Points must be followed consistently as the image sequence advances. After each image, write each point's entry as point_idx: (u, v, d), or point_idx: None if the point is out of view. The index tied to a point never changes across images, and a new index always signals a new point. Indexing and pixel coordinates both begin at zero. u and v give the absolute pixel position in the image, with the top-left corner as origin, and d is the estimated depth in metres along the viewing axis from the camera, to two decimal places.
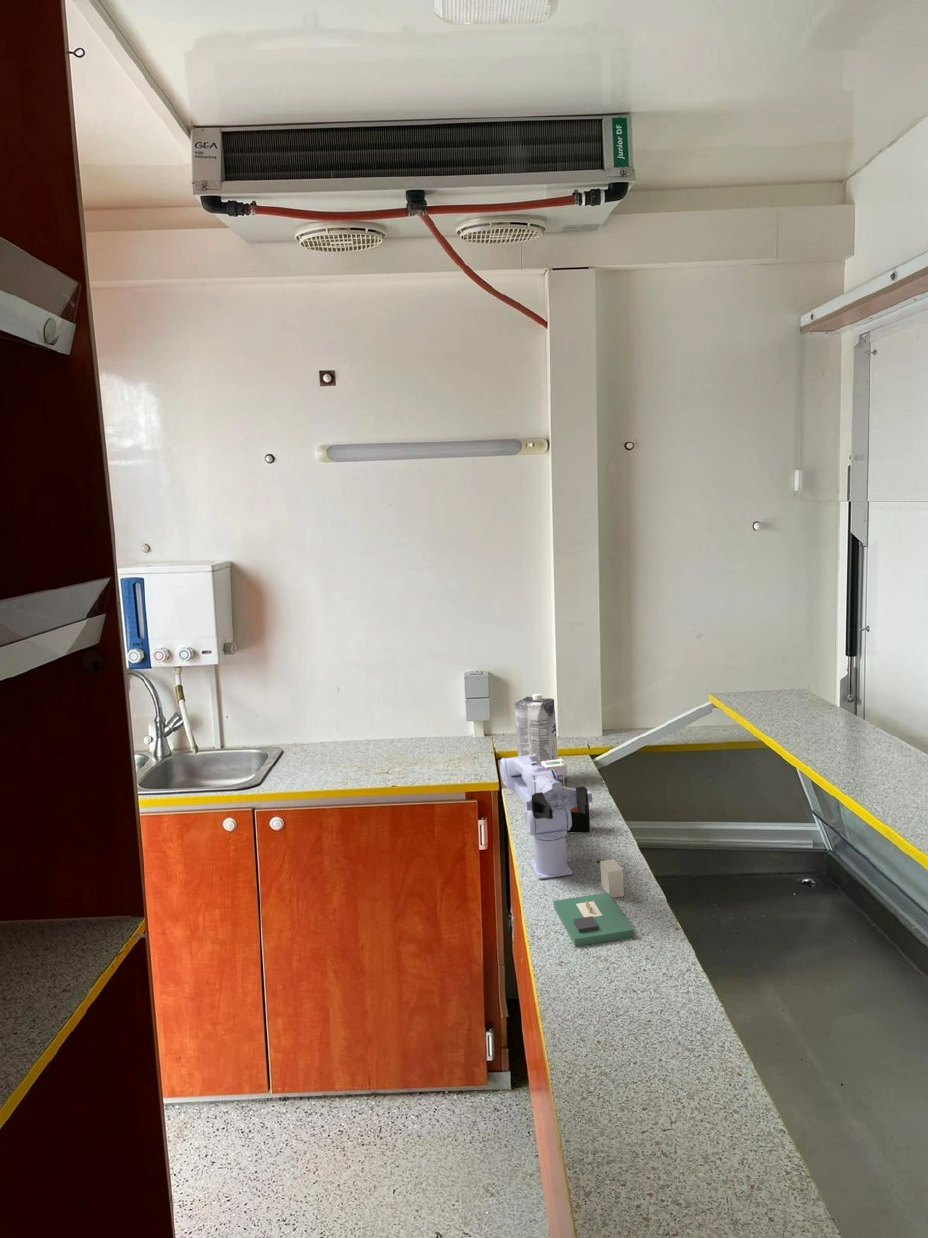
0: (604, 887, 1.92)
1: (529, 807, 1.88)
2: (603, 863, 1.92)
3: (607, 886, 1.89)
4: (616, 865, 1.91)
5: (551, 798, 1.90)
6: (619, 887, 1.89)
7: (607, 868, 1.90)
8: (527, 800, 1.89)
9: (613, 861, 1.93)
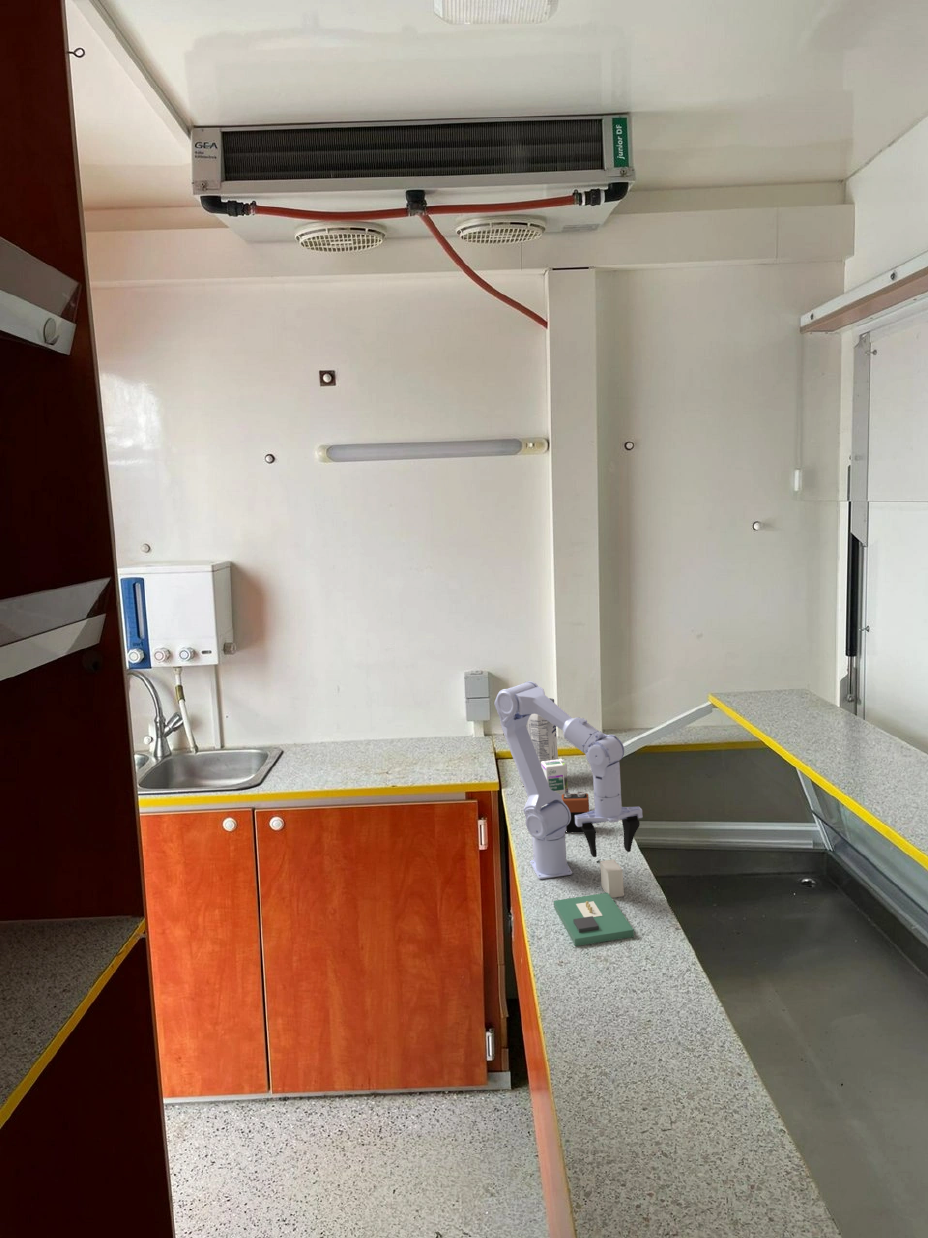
0: (604, 887, 1.92)
1: None
2: (603, 863, 1.92)
3: (607, 886, 1.89)
4: (616, 865, 1.91)
5: None
6: (619, 887, 1.89)
7: (607, 868, 1.90)
8: (579, 822, 1.87)
9: (613, 861, 1.93)
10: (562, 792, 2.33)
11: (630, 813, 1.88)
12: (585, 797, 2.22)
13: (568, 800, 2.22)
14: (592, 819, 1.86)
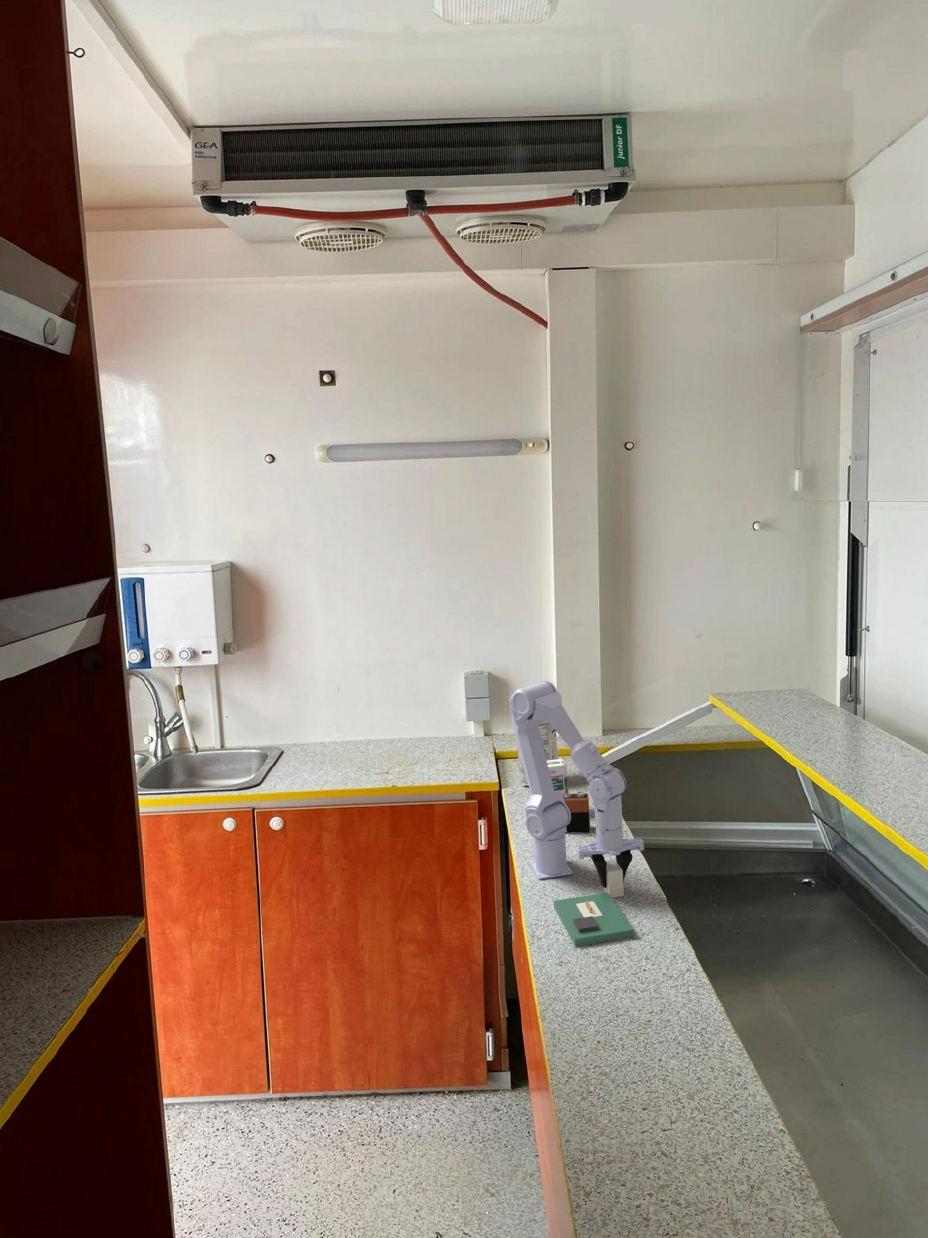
0: None
1: None
2: None
3: (607, 886, 1.89)
4: (616, 865, 1.91)
5: None
6: (619, 887, 1.89)
7: (607, 868, 1.90)
8: (581, 855, 1.88)
9: (613, 861, 1.93)
10: (562, 792, 2.33)
11: (632, 846, 1.89)
12: (585, 797, 2.22)
13: (568, 800, 2.22)
14: (594, 852, 1.88)
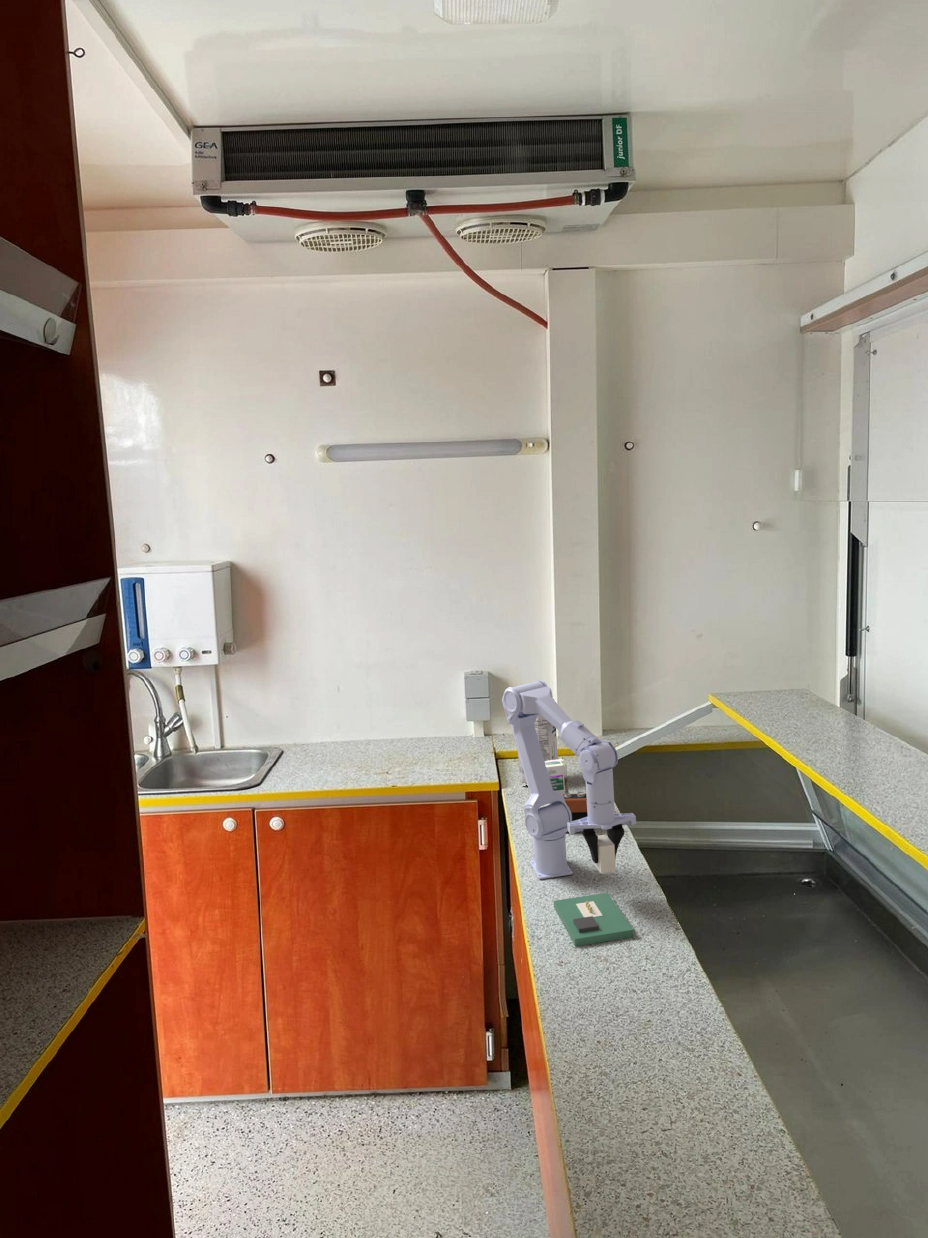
0: (596, 863, 1.87)
1: None
2: None
3: (599, 861, 1.85)
4: (608, 840, 1.86)
5: None
6: (611, 862, 1.84)
7: (599, 843, 1.85)
8: (572, 829, 1.84)
9: (605, 836, 1.88)
10: (562, 792, 2.33)
11: (623, 820, 1.85)
12: (585, 797, 2.22)
13: (568, 800, 2.22)
14: (585, 826, 1.83)
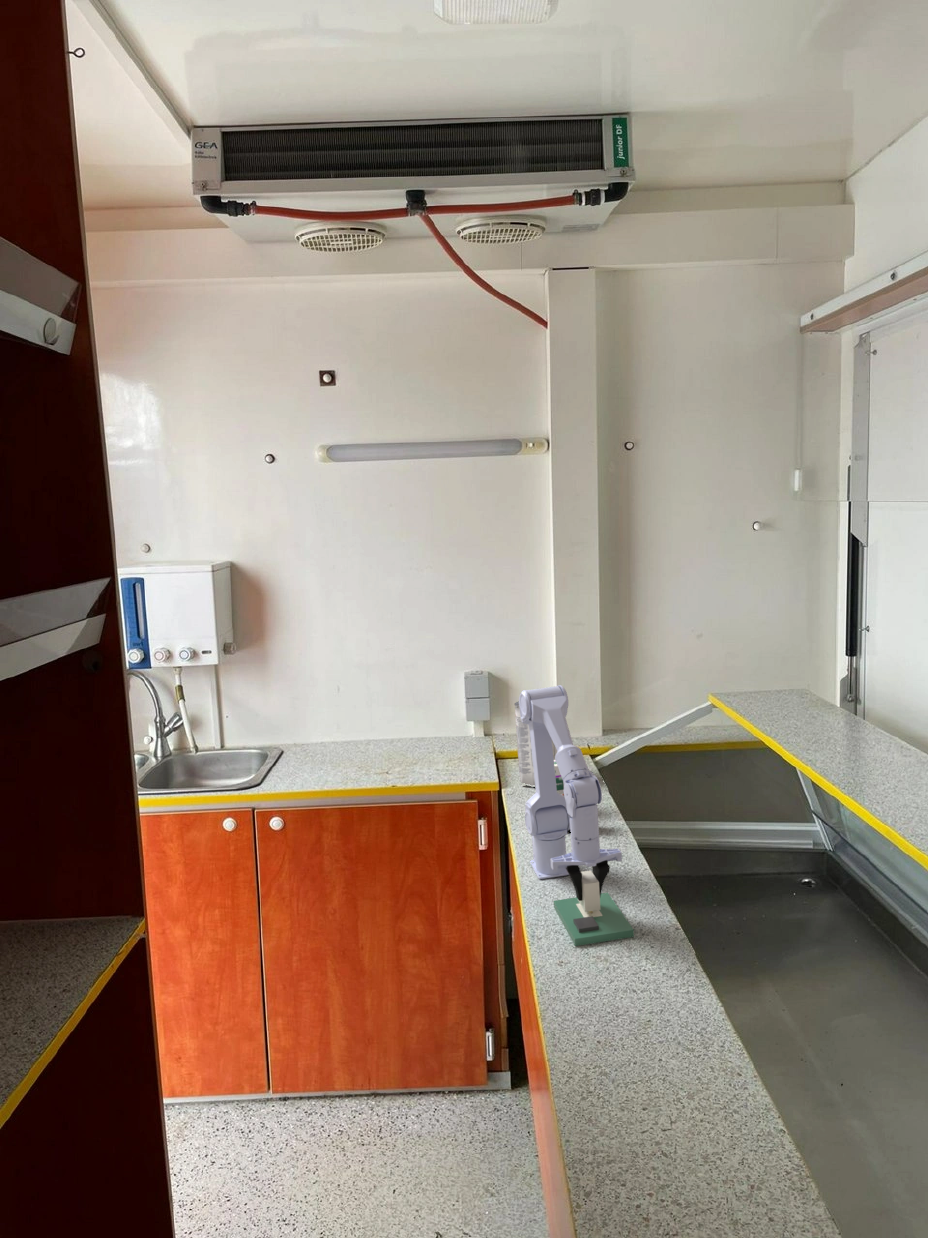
0: None
1: None
2: None
3: (583, 899, 1.79)
4: (592, 877, 1.80)
5: None
6: (595, 900, 1.78)
7: (583, 880, 1.79)
8: (555, 866, 1.78)
9: (590, 872, 1.82)
10: (562, 792, 2.33)
11: (609, 856, 1.79)
12: None
13: None
14: (568, 863, 1.77)
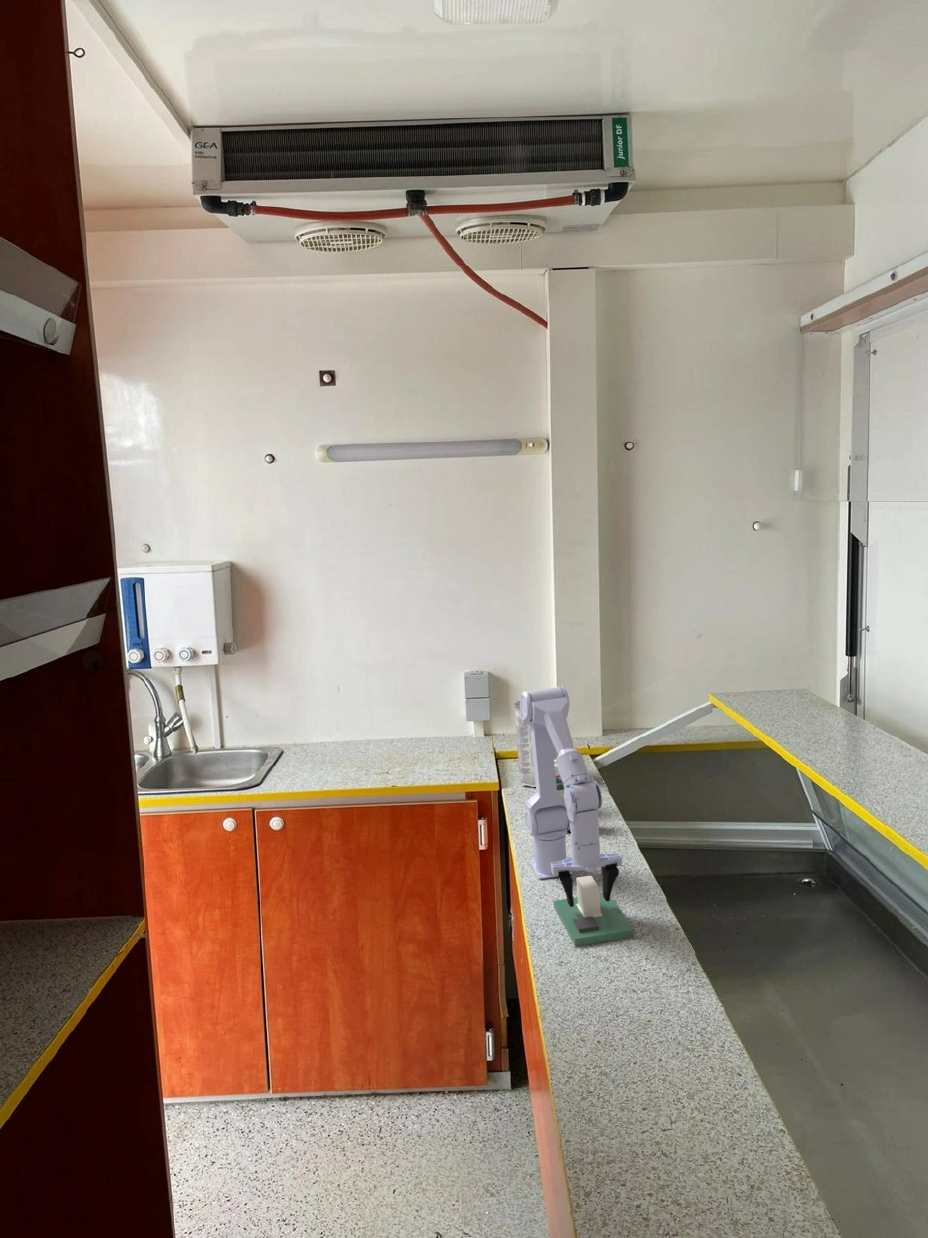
0: (580, 905, 1.82)
1: None
2: (579, 880, 1.82)
3: (583, 904, 1.79)
4: (593, 882, 1.80)
5: None
6: (596, 905, 1.79)
7: (583, 885, 1.79)
8: (555, 871, 1.78)
9: (590, 878, 1.82)
10: (562, 792, 2.33)
11: (609, 861, 1.79)
12: None
13: None
14: (569, 868, 1.77)
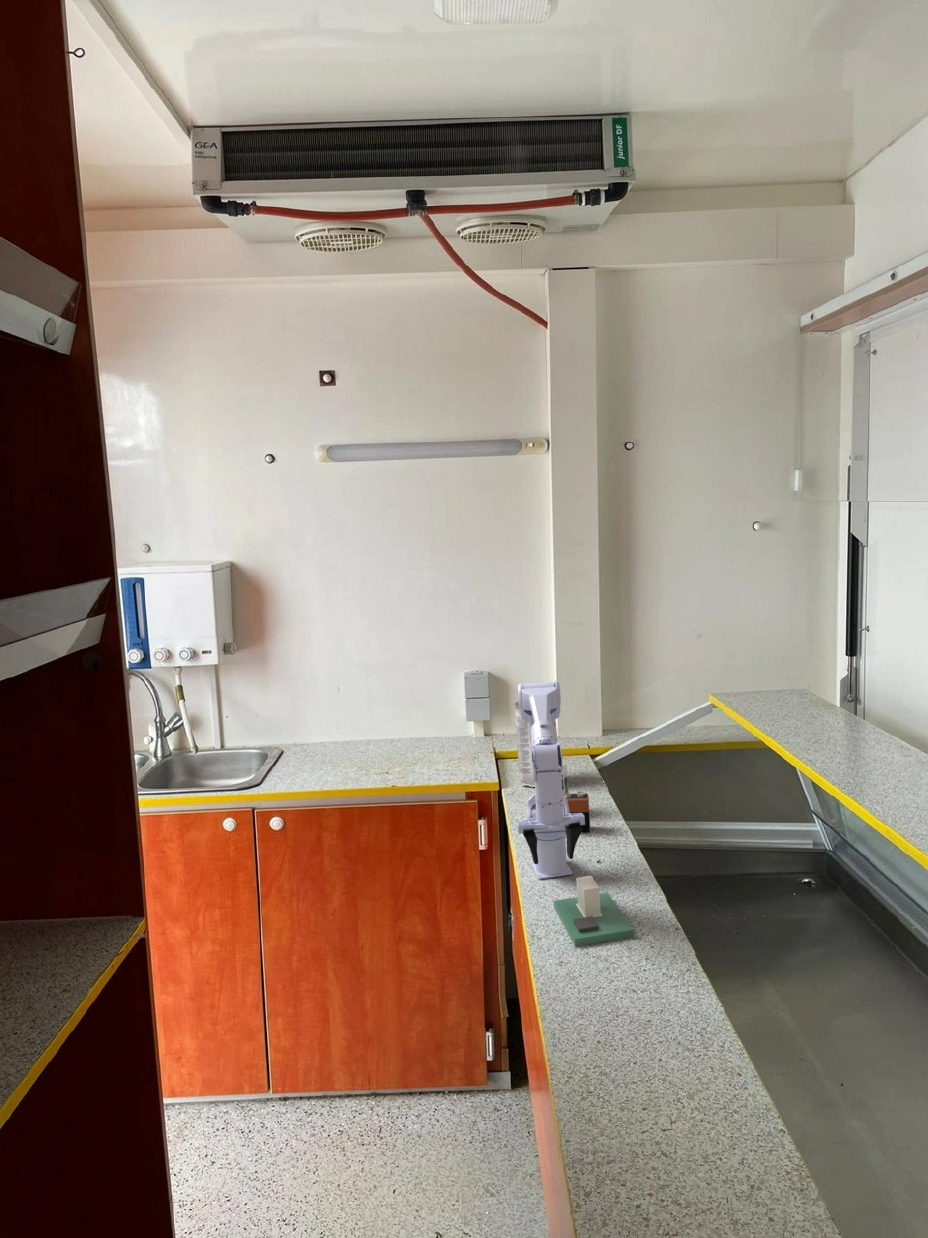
0: (580, 905, 1.82)
1: None
2: (579, 880, 1.82)
3: (583, 904, 1.79)
4: (593, 882, 1.80)
5: None
6: (596, 905, 1.79)
7: (583, 885, 1.79)
8: (520, 829, 1.85)
9: (590, 878, 1.82)
10: (562, 792, 2.33)
11: (572, 820, 1.86)
12: (585, 797, 2.22)
13: (568, 800, 2.22)
14: (533, 826, 1.84)
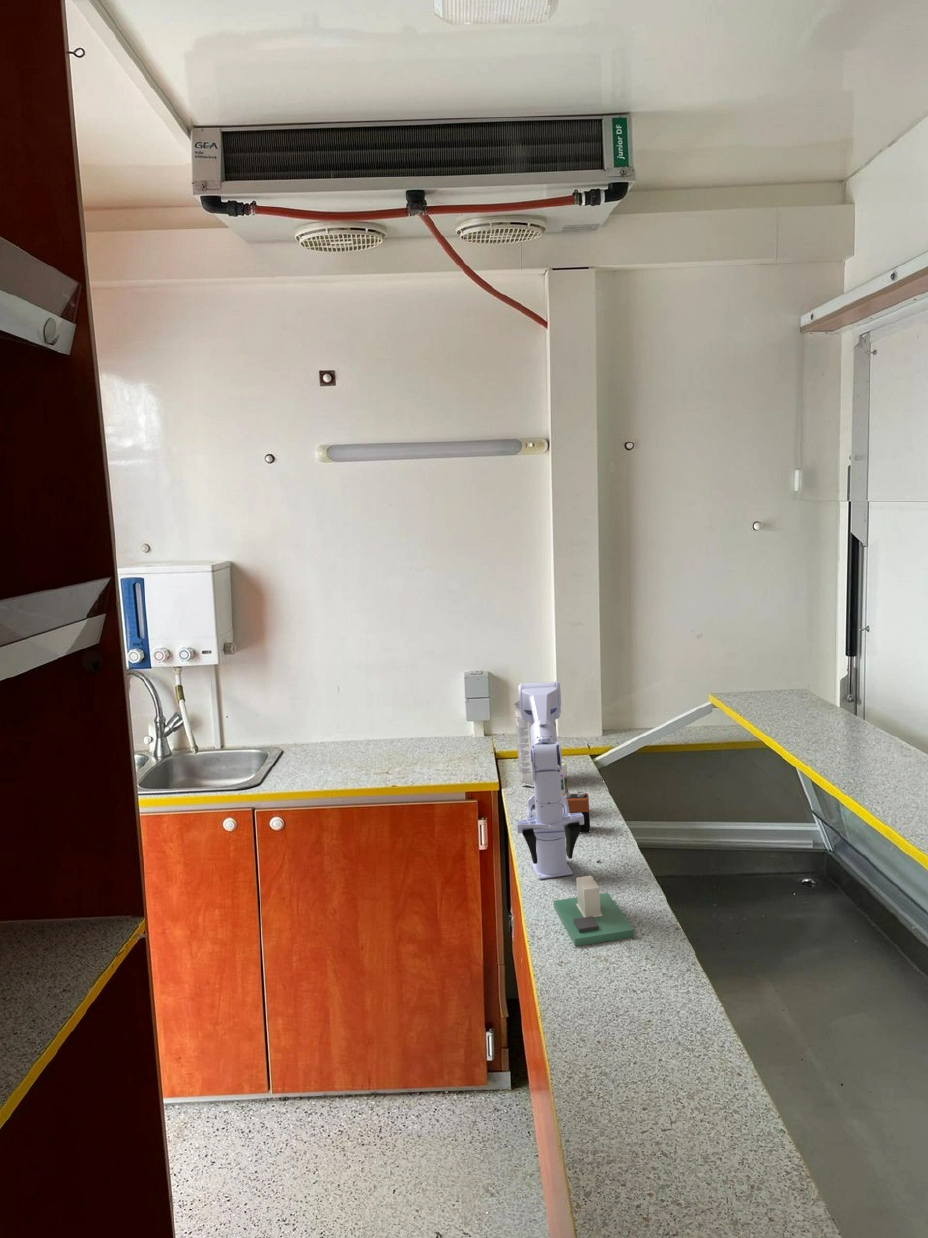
0: (580, 905, 1.82)
1: None
2: (579, 880, 1.82)
3: (583, 904, 1.79)
4: (593, 882, 1.80)
5: None
6: (596, 905, 1.79)
7: (583, 885, 1.79)
8: (519, 829, 1.85)
9: (590, 878, 1.82)
10: (562, 792, 2.33)
11: (571, 819, 1.86)
12: (585, 797, 2.22)
13: (568, 800, 2.22)
14: (532, 825, 1.84)
